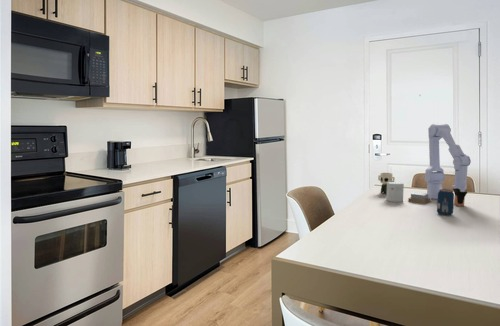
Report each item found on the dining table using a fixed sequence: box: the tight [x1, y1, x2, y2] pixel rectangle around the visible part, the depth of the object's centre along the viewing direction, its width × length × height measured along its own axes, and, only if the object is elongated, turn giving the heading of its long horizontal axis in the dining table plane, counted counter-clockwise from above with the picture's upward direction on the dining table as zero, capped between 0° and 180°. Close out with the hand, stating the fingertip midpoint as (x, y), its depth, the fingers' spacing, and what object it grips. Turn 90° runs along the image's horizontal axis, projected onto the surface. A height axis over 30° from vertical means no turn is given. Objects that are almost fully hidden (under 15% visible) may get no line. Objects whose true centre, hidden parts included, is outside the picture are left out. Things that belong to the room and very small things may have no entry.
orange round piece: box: [453, 194, 465, 207], centre depth 194 cm, size 5×5×5 cm
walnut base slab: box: [407, 196, 432, 205], centre depth 204 cm, size 9×9×2 cm
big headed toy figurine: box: [377, 172, 395, 195], centre depth 227 cm, size 11×7×13 cm, turn 40°
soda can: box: [436, 188, 455, 217], centre depth 174 cm, size 7×7×12 cm
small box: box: [385, 181, 405, 203], centre depth 206 cm, size 8×6×10 cm
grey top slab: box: [410, 191, 428, 200], centre depth 204 cm, size 7×7×2 cm
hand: (459, 202), depth 194 cm, fingers closed on orange round piece, 5 cm apart
